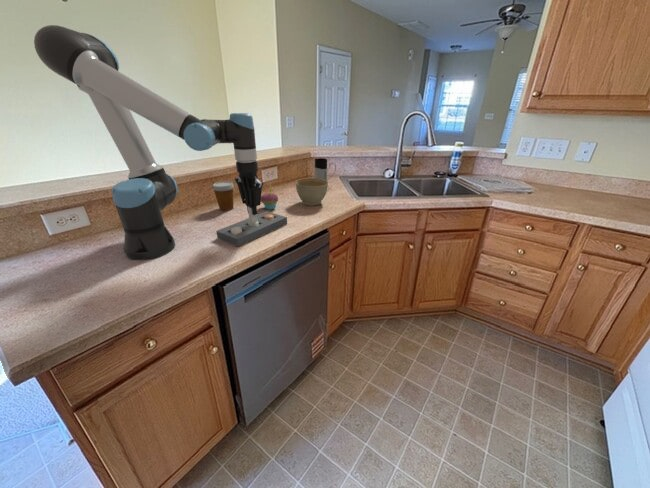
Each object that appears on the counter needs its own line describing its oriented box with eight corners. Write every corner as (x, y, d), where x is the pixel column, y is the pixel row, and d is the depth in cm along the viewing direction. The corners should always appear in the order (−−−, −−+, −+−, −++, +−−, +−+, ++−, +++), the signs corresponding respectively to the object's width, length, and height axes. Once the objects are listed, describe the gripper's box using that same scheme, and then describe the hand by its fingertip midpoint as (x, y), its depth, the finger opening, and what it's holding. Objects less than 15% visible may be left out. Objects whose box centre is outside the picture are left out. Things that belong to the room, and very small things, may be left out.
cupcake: (282, 207, 138) (281, 183, 133) (268, 212, 133) (266, 187, 127) (271, 203, 143) (269, 180, 138) (257, 207, 138) (254, 183, 132)
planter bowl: (302, 210, 136) (302, 187, 131) (292, 200, 149) (291, 179, 144) (333, 205, 142) (333, 184, 137) (320, 196, 155) (320, 176, 150)
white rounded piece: (236, 241, 105) (235, 232, 104) (229, 238, 107) (228, 229, 106) (245, 237, 108) (244, 228, 107) (238, 234, 110) (236, 226, 109)
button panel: (238, 246, 101) (237, 239, 100) (217, 238, 107) (216, 230, 106) (287, 223, 121) (286, 217, 119) (267, 217, 127) (266, 211, 125)
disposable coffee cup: (230, 212, 132) (227, 187, 126) (212, 211, 133) (207, 186, 128) (240, 206, 140) (237, 182, 134) (222, 204, 142) (218, 180, 136)
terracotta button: (269, 226, 118) (268, 218, 116) (262, 224, 120) (261, 216, 118) (276, 223, 121) (275, 215, 119) (269, 221, 123) (268, 213, 121)
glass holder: (317, 181, 183) (317, 157, 176) (338, 184, 178) (338, 159, 171) (311, 184, 176) (311, 160, 169) (332, 187, 171) (333, 162, 164)
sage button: (254, 233, 111) (253, 225, 110) (247, 230, 114) (246, 222, 112) (261, 229, 114) (260, 221, 113) (254, 227, 116) (253, 219, 115)
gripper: (267, 161, 101) (272, 222, 112) (242, 157, 108) (249, 215, 118) (251, 164, 96) (257, 228, 106) (226, 160, 102) (234, 221, 113)
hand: (253, 221), depth 112 cm, fingers closed
